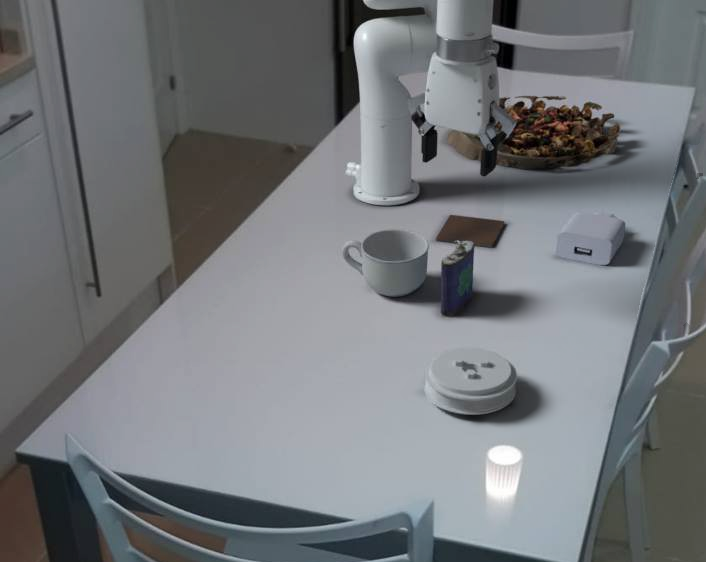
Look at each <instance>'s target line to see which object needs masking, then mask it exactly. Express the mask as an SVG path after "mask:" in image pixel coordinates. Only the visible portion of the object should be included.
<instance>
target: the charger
mask: <svg viewBox="0 0 706 562" xmlns="http://www.w3.org/2000/svg"><path fill="white" fill-rule="evenodd" d="M625 231H626V222H625V221H624V220H623V219H621V218H618V217H617V216H615V214H614V213H607V212H603V211H597V212H593V213H588V212H584V211H583V212H582V211H577V212H574V213H573V214H572V216H570V218H569V219H568V221H567V222H566V223H565V225H564V226H563V227H562V228H561V230H560V231H559V233H557V239H556V248H555V254H556V255H557V256H558V257H559V258H562V259H567V260H570V261H571V260H572V261H577V262H582V263H587V264H593V265H598V266H606V265H609V264H610V263H611V262H612V260H613V258H614V256H615V254H616V253H617V251H618V250H619V248H620V247H621V245H622V244H623V243H624V238H625Z"/></svg>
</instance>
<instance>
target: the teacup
mask: <svg viewBox="0 0 706 562" xmlns="http://www.w3.org/2000/svg"><path fill="white" fill-rule="evenodd" d="M351 248H355V250H357V251H358V253H359V256H360V257H361V262H359V261H357V260H356V259H355V258H353V257H352V256H351V254H350V252H349V250H350V249H351ZM429 249H430V243H429V241H428V239H427V238H426V237H425V236H424V235H422V234H420V233H419V232H416V231H413V230H410V229H404V228H385V229H380V230H377V231H374V232H371V233H370V234H369V235H367V236H366V237H365V238H363V240H362V241H361V242H360V241H359V240H356V239H350V240H348V241H346V242H345V243H344V245H343V246H342V250H341V254H342V257H343V259H344V261H345V263H347V264H348V265H349V266H351V268H353V269H354V270H356V271H358V272H359V274H360V275H361V276H363V279H364V281H365V283H366V284H367V286H369V288H370V289H372V290H373V291H375V292H377V293H378V294H380V295H382V296H385V297H392V298H393V297H394V298H397V297H398V298H399V297H403V296H406V295H409V294H411V293H413V292H414V291H415V290H417V289H418V288H420V287H421V286H422V285H423V283H424V282H425V280H426V276H427V273H428V272H427V271H428V262H429V261H428V258H429Z"/></svg>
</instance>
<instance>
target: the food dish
mask: <svg viewBox="0 0 706 562" xmlns="http://www.w3.org/2000/svg"><path fill="white" fill-rule="evenodd" d="M514 98H515V99H518V98H519V99H520V98H523V99H529V100H530V101H531V106H530V107H529V108H528V106H525V105H526V103H525V101H523V100H519V101H517V102H516V103H514V104H512V105H508V106H507V107H506V102H507V100H510V99H511V97H506V96H504V97H499V106H500V107H501V108H502V109H504V110H505V111H506V112H507V113H508V114H510V115H511V116H512V117H513V118H515V119H516V121H517V123H516V125H515V127H514V129H513V130H512V132H511V133H510V136H509V137H508V138H507V139H505V140H504V141H503V142H502V143H500V144H499V145H498V149H497V164H496V165H498V166H501V167H506V168H511V167H512V168H517V169H520V170H521V169H522V170H539V169H544V168H545V169H547V168H548V169H552V168H553V169H554V168H558V167H573V166H575V165H579V164H581V163H587V162H589V161H590V160H591V159H592V158H597V157H598V156H600V155H602V154H605V155H610V154H614V153H615V152H616V148H617V145H618V139H619V136H620V133H621V124H619V123H614V124H613V125H612V126H611V127H610V128H609V130H608V133H607V132H606V131H605V128H604V127H605V124H606V122H607V121H608V120H610V119H614V118H615V114H614V113H612V112H610V113H609V112H608V113H603V114H602V115H601V118H600V117H598V116H597V117H596V116H595V117H593V112H592V110H596V111H600V110H602V109H603V106H602V105H600V104H598V103H595V102H592V101H586V102H585V103H584V104H583V106H582V109H581V110H580V107H578V106H576V104H574V105H572V107H571V108H569V106H568V105H566V104H562V106H560V107H556V106H554V105H553V106H552V105H551V106H548V107H547V108H546V106H547V104H546V102H545V101H544V100H543V99H546V100H547V101H552V100H555V101H562V100H567V96H563V95H561V96H559V95H544V96H537V95H518V96H514ZM539 99H541V100H539ZM545 108H546V109H545ZM592 117H593V118H592ZM494 128H495V129H496V131H497V133H499V132H500V131H501V129H502V124H501V123H500V122H499V121H498V123H497V124H496V125H495V126H494ZM445 144H448V145H449V146H451V147H452V148H454V149H455V150H456V151H457V153H460V154H461V155H463V156H464V157H466V158H468V159H470V160H472V161H473V160H474V161H475V160H477V161H480V162H481V151H482V149H484V148H485V146H484V144H483V143H482V141H481V139H480V138H479V136H478V135H475V134H469V133H465V132H460V131H455V130H451V131H450V132H449V133H448V135H447V138H446V141H445Z"/></svg>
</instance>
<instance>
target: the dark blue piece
mask: <svg viewBox="0 0 706 562" xmlns="http://www.w3.org/2000/svg"><path fill="white" fill-rule="evenodd" d="M455 242H456V243H455V244H456V246H455V248H454V250H453V251H452V252H451V253H449V254H447V255H446V256H444V257H443V258H442V260H441V262H440V266H441V269H440V270H441V271H440V274H441V277H440V281H441V282H440V283H441V284H440V287H441V288H440V315H441V316H444V317H453V316H456V315H457V314H459V313H460V312H461V311H462V310H464V309H465V307H466V306H467V304H468V303H469V301H471V299H472V297H473V292H474V291H473V288H474V287H473V285H474V264H475V263H474V261H475V259H474V258H475V246H474V243H473V242H472V241H462V242H461V241H459V240H457V241H455Z"/></svg>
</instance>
